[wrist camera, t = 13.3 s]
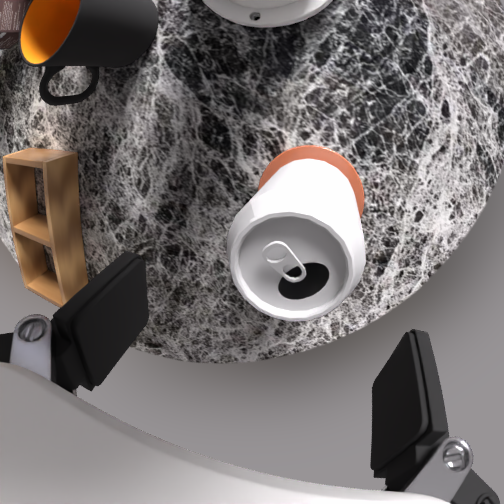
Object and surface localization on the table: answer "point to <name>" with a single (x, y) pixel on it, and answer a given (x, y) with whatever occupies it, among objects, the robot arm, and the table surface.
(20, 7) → the box
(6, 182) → the holder
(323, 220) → the can
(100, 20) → the mug
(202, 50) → the table surface
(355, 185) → the coaster
